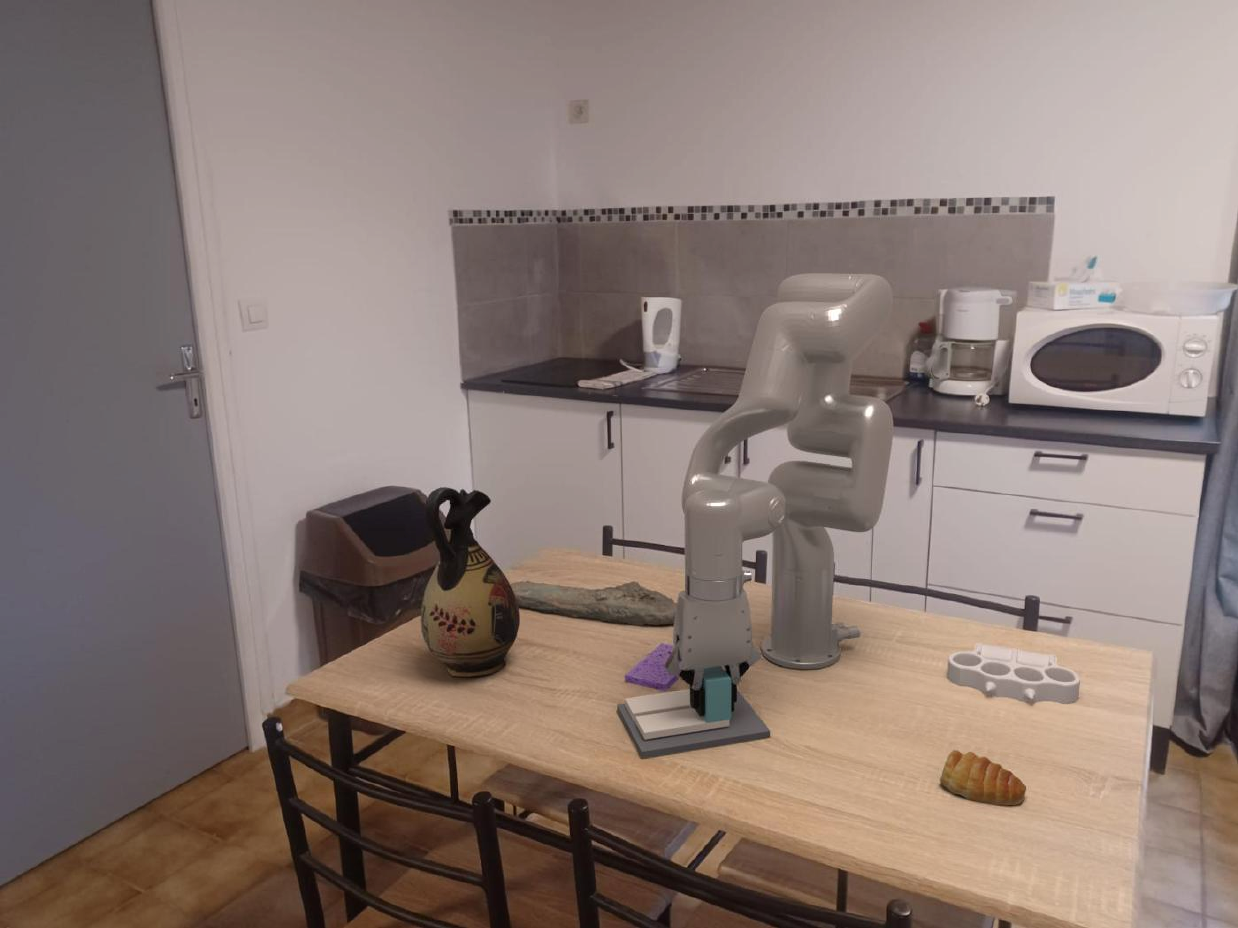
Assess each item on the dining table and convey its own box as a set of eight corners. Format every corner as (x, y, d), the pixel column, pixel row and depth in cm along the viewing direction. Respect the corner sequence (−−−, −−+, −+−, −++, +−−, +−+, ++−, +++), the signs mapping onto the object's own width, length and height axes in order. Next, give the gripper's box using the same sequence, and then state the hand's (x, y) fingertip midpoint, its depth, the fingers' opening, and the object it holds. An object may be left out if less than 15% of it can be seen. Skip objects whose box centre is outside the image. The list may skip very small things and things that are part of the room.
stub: (719, 710, 131) (719, 664, 129) (731, 725, 127) (731, 678, 125) (635, 723, 128) (634, 676, 126) (644, 739, 124) (643, 691, 122)
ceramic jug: (470, 636, 160) (459, 467, 152) (541, 657, 151) (532, 479, 144) (396, 676, 146) (379, 492, 139) (468, 701, 138) (454, 507, 130)
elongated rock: (518, 595, 181) (493, 618, 173) (515, 570, 180) (489, 591, 171) (690, 609, 168) (672, 634, 159) (687, 582, 167) (669, 606, 158)
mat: (734, 692, 138) (735, 686, 138) (770, 737, 126) (770, 730, 126) (617, 710, 134) (617, 704, 134) (642, 758, 122) (641, 751, 122)
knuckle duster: (1078, 673, 142) (1077, 718, 130) (954, 653, 150) (942, 694, 137) (1080, 653, 142) (1080, 696, 129) (955, 633, 149) (943, 673, 137)
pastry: (1030, 789, 114) (1032, 761, 113) (1017, 818, 108) (1019, 789, 107) (951, 765, 119) (953, 739, 118) (935, 792, 114) (937, 764, 113)
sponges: (700, 660, 150) (700, 650, 149) (665, 694, 139) (665, 683, 139) (661, 652, 153) (661, 641, 153) (624, 684, 143) (624, 673, 142)
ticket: (704, 694, 136) (704, 686, 136) (717, 711, 131) (717, 703, 131) (625, 706, 133) (625, 698, 133) (635, 724, 128) (635, 716, 128)
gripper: (760, 567, 129) (759, 688, 134) (645, 581, 125) (647, 705, 130) (783, 586, 122) (780, 713, 126) (661, 601, 118) (663, 732, 123)
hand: (713, 708), depth 128 cm, fingers closed on stub, 3 cm apart
